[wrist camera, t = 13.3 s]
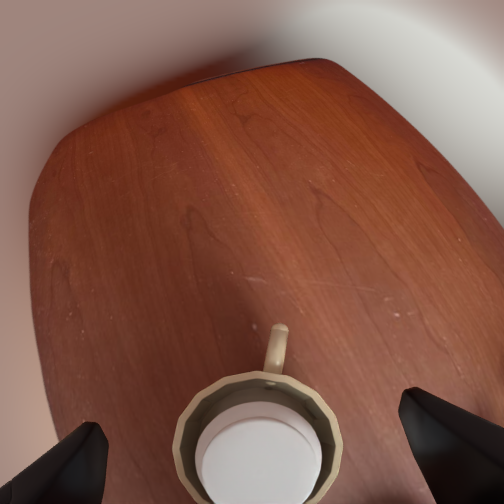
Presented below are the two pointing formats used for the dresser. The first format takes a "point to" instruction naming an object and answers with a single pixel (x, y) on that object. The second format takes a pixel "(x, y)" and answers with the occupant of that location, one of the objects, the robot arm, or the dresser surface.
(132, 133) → the dresser surface
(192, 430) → the mug
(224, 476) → the pill bottle
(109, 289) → the dresser surface
